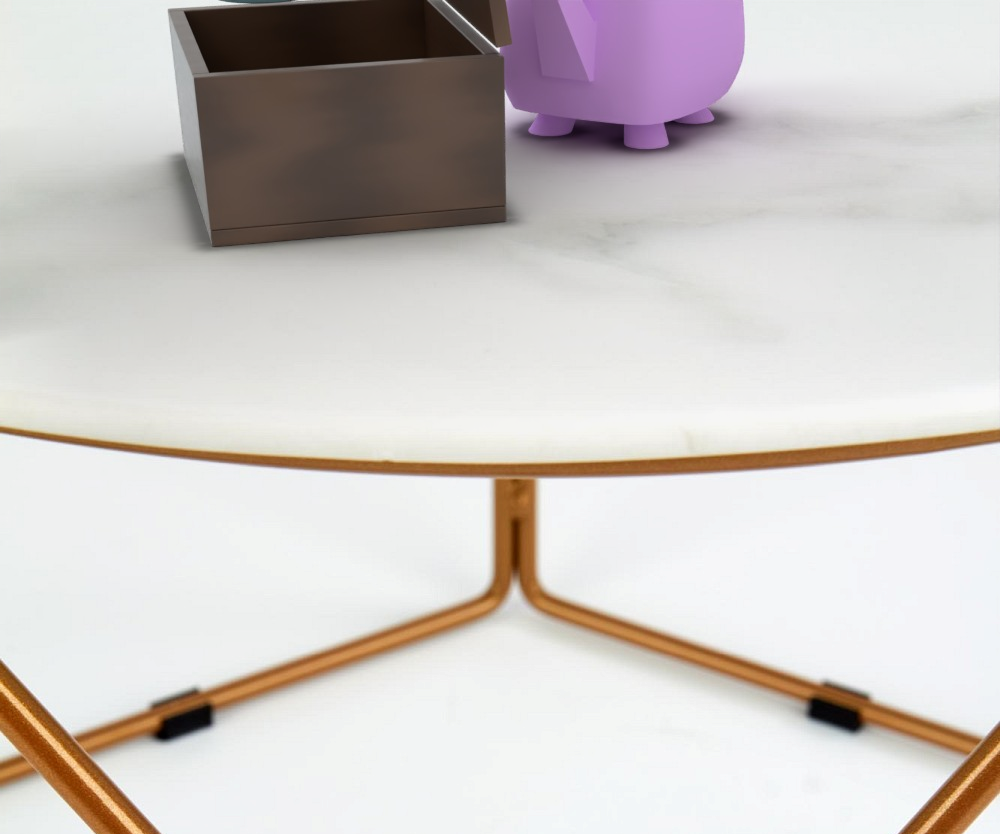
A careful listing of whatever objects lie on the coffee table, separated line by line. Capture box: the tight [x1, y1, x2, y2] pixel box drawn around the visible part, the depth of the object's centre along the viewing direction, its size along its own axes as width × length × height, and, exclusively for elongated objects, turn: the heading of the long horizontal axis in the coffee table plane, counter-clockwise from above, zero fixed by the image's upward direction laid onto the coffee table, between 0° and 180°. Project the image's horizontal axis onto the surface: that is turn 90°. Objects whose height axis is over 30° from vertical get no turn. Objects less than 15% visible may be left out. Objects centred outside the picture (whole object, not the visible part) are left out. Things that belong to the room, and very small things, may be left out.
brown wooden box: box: [167, 0, 507, 248], centre depth 88 cm, size 15×17×8 cm
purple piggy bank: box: [498, 0, 746, 150], centre depth 97 cm, size 20×12×13 cm, turn 150°
